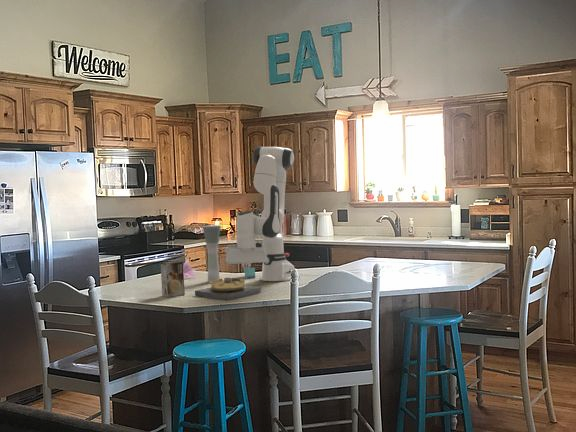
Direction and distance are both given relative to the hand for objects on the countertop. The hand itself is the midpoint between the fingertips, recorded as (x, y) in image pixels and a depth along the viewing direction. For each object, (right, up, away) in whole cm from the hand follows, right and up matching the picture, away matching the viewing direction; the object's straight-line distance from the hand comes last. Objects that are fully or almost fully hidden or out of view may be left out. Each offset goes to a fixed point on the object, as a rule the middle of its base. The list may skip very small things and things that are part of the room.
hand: (246, 272), depth 320 cm
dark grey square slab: (-8, -10, -10) cm, 16 cm away
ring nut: (-5, -7, -7) cm, 11 cm away
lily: (-37, -8, +47) cm, 60 cm away
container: (-20, -8, +31) cm, 38 cm away
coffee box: (-35, -11, -7) cm, 37 cm away
